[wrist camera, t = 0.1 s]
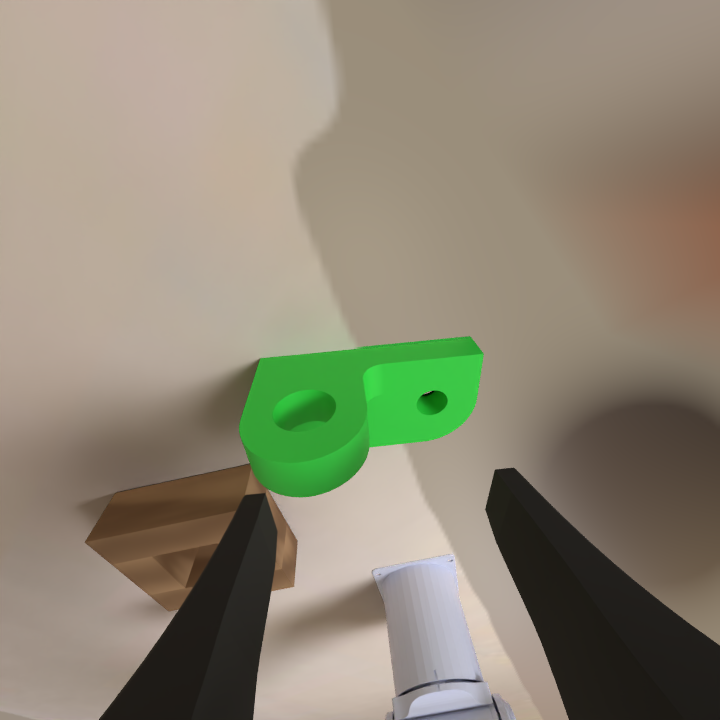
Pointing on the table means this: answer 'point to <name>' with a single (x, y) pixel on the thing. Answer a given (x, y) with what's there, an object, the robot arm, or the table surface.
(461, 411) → the mechanical part
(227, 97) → the table surface
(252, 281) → the table surface
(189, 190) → the table surface
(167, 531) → the square wooden ring
